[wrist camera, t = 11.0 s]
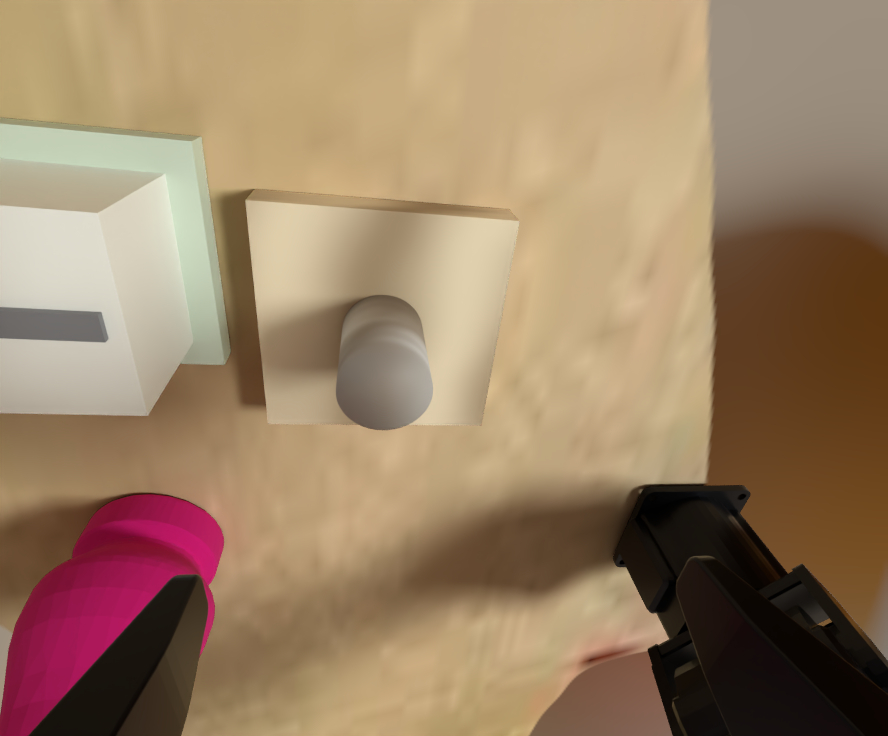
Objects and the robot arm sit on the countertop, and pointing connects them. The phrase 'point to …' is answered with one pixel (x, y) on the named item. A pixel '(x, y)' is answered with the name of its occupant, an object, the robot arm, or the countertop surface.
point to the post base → (367, 261)
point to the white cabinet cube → (87, 290)
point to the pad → (186, 197)
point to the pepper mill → (102, 597)
